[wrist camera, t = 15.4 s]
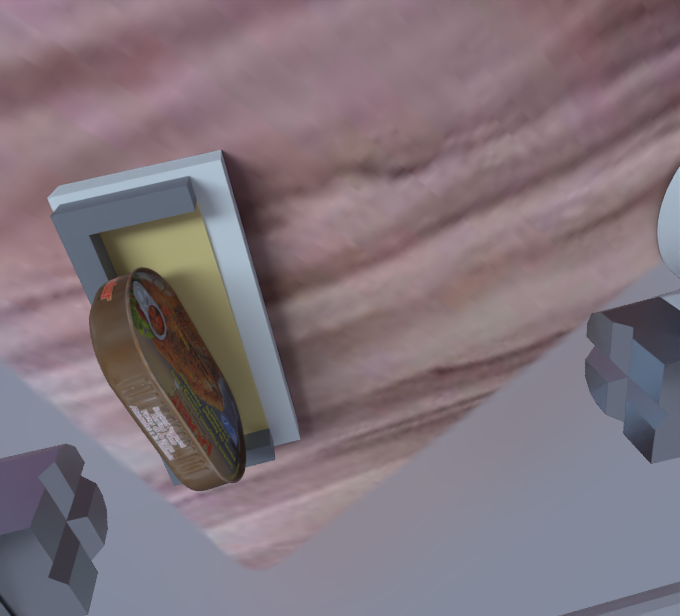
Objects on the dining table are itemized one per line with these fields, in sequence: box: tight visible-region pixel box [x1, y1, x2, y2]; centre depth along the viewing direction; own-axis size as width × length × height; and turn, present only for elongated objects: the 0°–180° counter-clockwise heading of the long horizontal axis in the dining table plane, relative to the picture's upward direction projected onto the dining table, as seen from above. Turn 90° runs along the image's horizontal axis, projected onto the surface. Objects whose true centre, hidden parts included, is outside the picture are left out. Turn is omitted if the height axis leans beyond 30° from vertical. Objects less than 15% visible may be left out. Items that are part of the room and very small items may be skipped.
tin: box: [89, 267, 246, 491], centre depth 34 cm, size 15×3×8 cm, turn 19°
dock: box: [47, 150, 300, 486], centre depth 38 cm, size 10×22×4 cm, turn 11°
